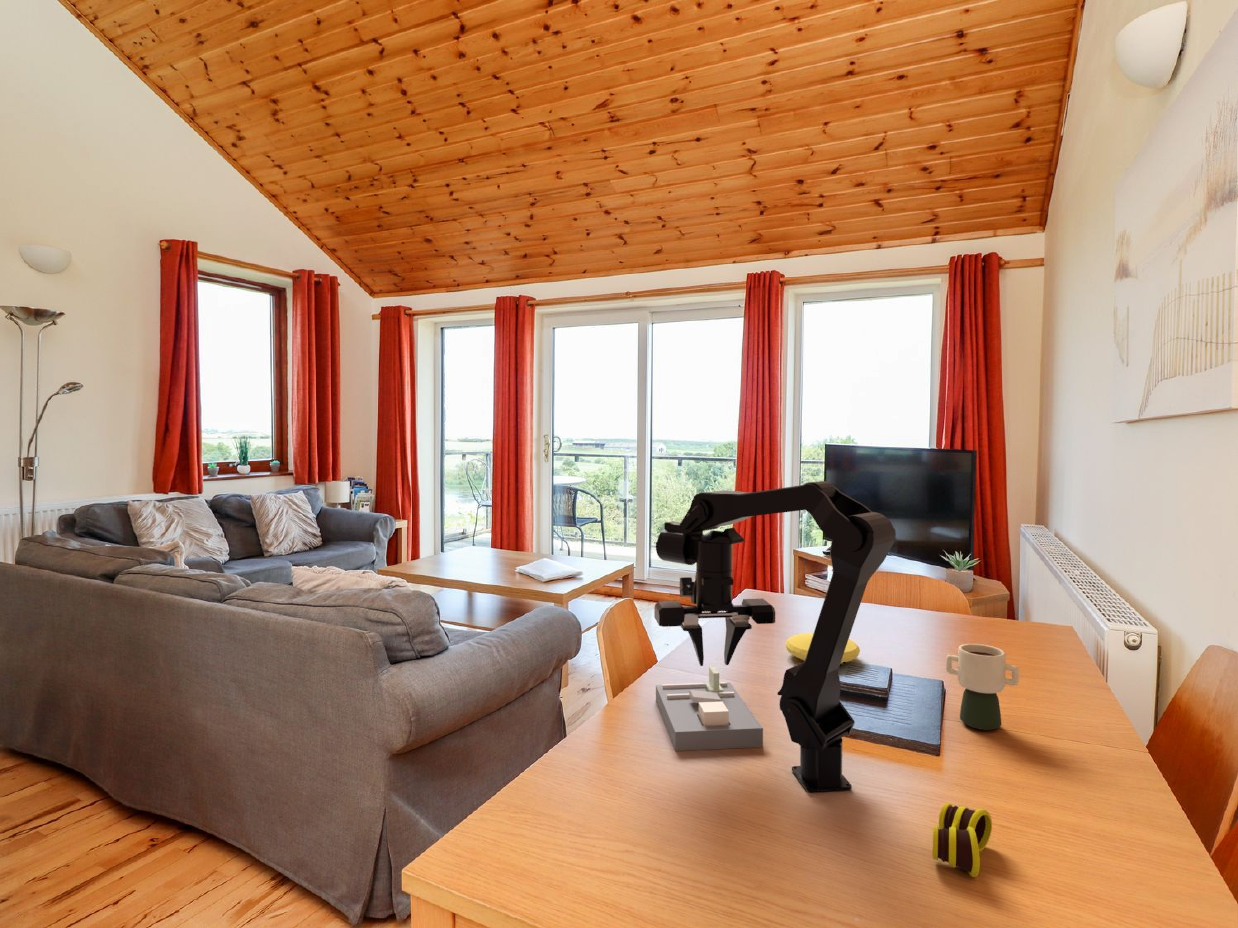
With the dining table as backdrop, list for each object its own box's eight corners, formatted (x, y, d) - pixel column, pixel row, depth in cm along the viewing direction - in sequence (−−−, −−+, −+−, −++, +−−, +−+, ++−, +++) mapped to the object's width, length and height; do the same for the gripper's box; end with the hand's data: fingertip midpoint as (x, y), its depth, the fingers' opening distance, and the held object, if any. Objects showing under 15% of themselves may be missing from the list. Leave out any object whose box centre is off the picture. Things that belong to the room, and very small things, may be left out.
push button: (728, 727, 109) (728, 711, 108) (704, 728, 108) (704, 712, 108) (722, 716, 113) (722, 701, 112) (698, 717, 112) (698, 702, 112)
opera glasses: (944, 829, 85) (945, 790, 85) (992, 844, 82) (993, 804, 81) (926, 869, 77) (927, 826, 77) (978, 888, 74) (979, 843, 74)
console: (762, 746, 107) (763, 724, 107) (675, 750, 106) (675, 728, 106) (729, 698, 127) (730, 679, 127) (655, 701, 126) (655, 681, 126)
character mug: (1019, 726, 115) (1021, 650, 114) (1014, 741, 109) (1016, 661, 108) (949, 711, 121) (950, 638, 120) (940, 724, 115) (942, 649, 115)
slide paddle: (723, 692, 121) (723, 673, 121) (709, 693, 121) (709, 673, 120) (718, 685, 124) (718, 666, 124) (705, 686, 124) (705, 666, 124)
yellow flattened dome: (876, 666, 145) (876, 633, 145) (815, 675, 139) (815, 641, 139) (827, 645, 160) (828, 615, 159) (770, 653, 154) (771, 622, 154)
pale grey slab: (720, 705, 115) (721, 699, 115) (692, 702, 115) (693, 696, 115) (715, 698, 119) (716, 692, 119) (688, 695, 118) (689, 689, 118)
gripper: (755, 558, 118) (755, 647, 119) (649, 561, 116) (649, 651, 117) (776, 571, 107) (776, 669, 108) (659, 574, 105) (659, 673, 106)
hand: (713, 664), depth 110 cm, fingers open, 4 cm apart
